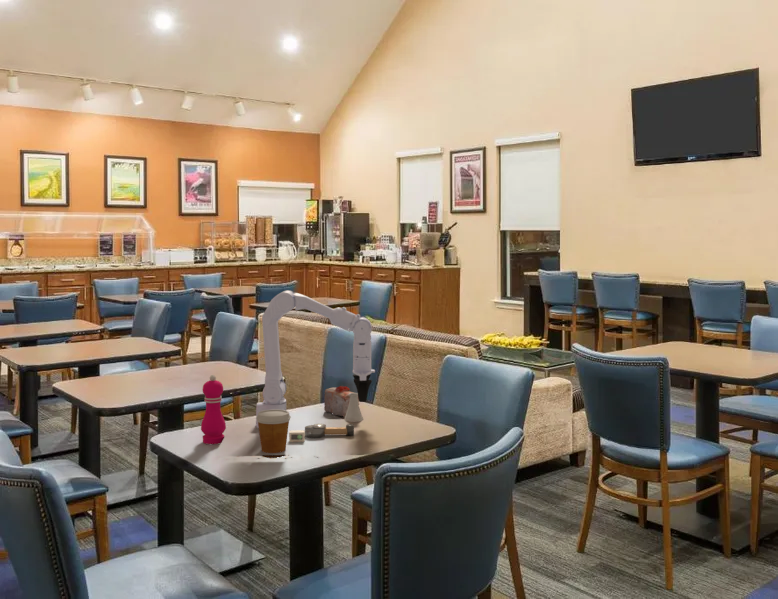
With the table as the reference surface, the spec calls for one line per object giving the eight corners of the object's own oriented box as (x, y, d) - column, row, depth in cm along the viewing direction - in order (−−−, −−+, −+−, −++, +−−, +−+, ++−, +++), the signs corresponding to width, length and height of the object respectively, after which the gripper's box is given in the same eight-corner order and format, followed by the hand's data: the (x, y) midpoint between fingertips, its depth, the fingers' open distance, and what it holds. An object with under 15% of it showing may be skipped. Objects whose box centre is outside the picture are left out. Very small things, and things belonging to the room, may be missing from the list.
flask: (366, 421, 255) (366, 391, 254) (363, 427, 247) (363, 396, 247) (344, 421, 255) (344, 391, 254) (341, 426, 248) (341, 395, 247)
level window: (289, 443, 223) (289, 433, 222) (289, 440, 226) (289, 430, 226) (304, 443, 223) (304, 433, 223) (304, 440, 226) (304, 430, 226)
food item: (362, 416, 262) (362, 387, 262) (344, 419, 257) (344, 390, 256) (338, 409, 273) (338, 381, 272) (320, 412, 268) (320, 384, 267)
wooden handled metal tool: (304, 438, 227) (304, 427, 227) (305, 433, 233) (305, 423, 233) (354, 437, 228) (354, 427, 228) (353, 432, 234) (353, 422, 234)
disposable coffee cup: (267, 449, 221) (267, 407, 220) (296, 452, 218) (296, 410, 217) (249, 457, 212) (249, 415, 211) (280, 461, 209) (280, 418, 208)
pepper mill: (231, 440, 230) (230, 374, 228) (213, 446, 224) (212, 378, 222) (214, 437, 234) (213, 372, 232) (196, 442, 228) (194, 375, 226)
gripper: (376, 359, 234) (376, 403, 235) (373, 352, 248) (373, 394, 250) (353, 360, 233) (352, 404, 235) (352, 352, 248) (351, 394, 249)
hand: (362, 399), depth 242 cm, fingers open, 7 cm apart
